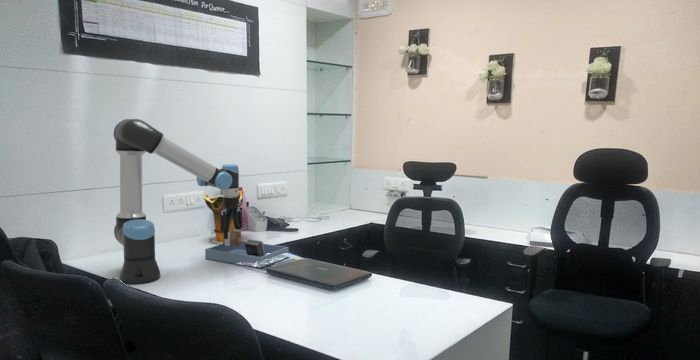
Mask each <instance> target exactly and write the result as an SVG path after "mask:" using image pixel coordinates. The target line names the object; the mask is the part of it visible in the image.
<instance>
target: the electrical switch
mask: <svg viewBox="0 0 700 360" xmlns="http://www.w3.org/2000/svg"><path fill="white" fill-rule="evenodd" d="M263 244H264V241H263V240H260V239H255V238H254V239H253V238H247V242H246V243H245V248H246V252H247V255H250V256H257V257H262V256H264V255H266V254H265V249H264V245H263Z"/></svg>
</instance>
